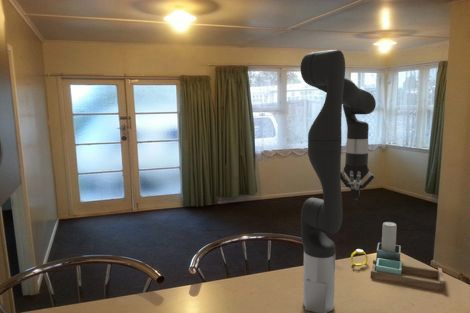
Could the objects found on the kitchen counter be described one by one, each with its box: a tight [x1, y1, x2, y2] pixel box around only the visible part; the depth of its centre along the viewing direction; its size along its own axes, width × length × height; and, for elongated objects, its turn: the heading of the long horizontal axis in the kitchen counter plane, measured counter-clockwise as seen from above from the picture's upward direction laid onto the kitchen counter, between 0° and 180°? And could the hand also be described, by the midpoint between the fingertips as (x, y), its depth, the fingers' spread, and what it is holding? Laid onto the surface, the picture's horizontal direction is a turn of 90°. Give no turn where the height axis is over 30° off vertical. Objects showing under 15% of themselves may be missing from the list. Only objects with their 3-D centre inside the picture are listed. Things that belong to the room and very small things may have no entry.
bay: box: [370, 259, 445, 292], centre depth 122 cm, size 10×22×4 cm, turn 64°
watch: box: [350, 248, 369, 267], centre depth 133 cm, size 6×3×6 cm, turn 86°
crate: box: [375, 258, 403, 275], centre depth 124 cm, size 7×8×4 cm
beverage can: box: [381, 221, 398, 252], centre depth 132 cm, size 5×5×12 cm
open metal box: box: [375, 242, 402, 262], centre depth 133 cm, size 8×8×6 cm
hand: (355, 199), depth 126 cm, fingers closed
